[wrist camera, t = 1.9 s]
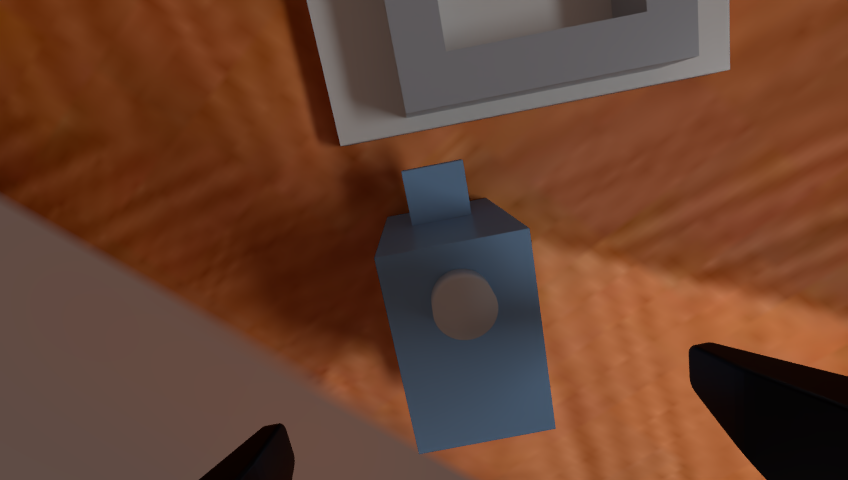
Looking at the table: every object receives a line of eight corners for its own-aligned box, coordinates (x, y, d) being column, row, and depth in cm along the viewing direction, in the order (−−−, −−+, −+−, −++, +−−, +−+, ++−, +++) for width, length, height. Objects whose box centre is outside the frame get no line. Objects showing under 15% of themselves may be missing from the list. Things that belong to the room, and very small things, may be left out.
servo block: (512, 369, 18) (572, 503, 11) (423, 386, 18) (431, 528, 11) (478, 152, 16) (529, 157, 9) (377, 172, 16) (353, 192, 9)
